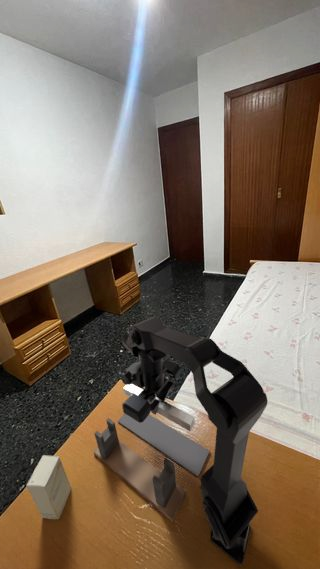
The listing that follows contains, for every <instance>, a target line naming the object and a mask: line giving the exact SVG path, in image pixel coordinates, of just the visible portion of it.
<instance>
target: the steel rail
mask: <svg viewBox="0 0 320 569" xmlns="http://www.w3.org/2000/svg"><path fill="white" fill-rule="evenodd" d="M142 390H143V389H142V388H140V387H138V385H135V384H133V383H131V384H130V385H126V384H125V386H124V387H123V391H124V395H125V396H128V398H129V397H130V396H131V394H133V393H134V394H136V395H139V394H140V392H141V391H142ZM156 399H157V400H159V401H160V403H159V407H158V410H157V413H156V414H159V415H160V416H162V417H163V418H166V419H168V420H170V421H171V422H173V423H174V424H176V425H178V426H180V427H182V428H184V430H187V431H188V432H191V431H192V429H193V428H194V426H195V423H196V422H195V416H193V415H192V414H189V413H188V412H186V411H184V410H182V409H180V408H178V407H176V406H175V405H172V404H170V403H168V402H167V401H166V400H165V401H163V400H161V399H159V398H157V397H156Z"/></svg>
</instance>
